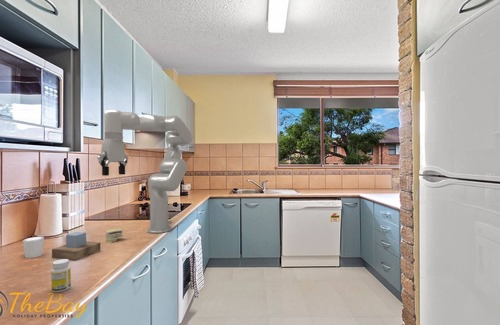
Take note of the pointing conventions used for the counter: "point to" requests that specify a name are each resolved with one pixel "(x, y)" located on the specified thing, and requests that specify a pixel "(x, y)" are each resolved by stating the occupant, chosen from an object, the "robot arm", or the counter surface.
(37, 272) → the counter surface
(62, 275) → the supplement bottle
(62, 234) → the counter surface
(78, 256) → the walnut block
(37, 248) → the white short cylinder
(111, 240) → the stacked layers on plate
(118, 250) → the counter surface
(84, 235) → the slate cube
